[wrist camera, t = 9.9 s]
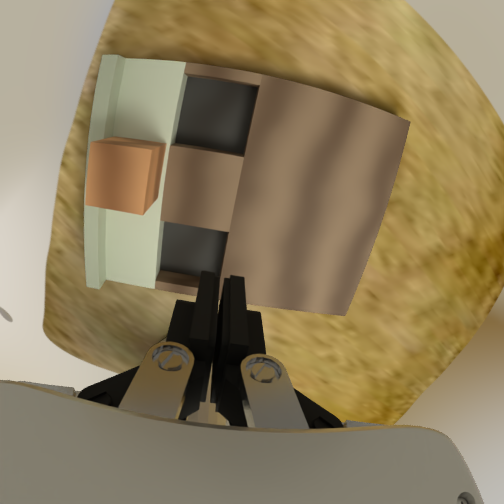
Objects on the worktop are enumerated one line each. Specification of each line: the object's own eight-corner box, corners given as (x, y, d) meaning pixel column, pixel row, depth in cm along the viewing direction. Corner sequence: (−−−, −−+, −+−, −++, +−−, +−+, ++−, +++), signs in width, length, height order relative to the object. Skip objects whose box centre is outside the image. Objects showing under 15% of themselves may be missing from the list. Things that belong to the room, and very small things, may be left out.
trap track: (398, 120, 27) (410, 121, 24) (339, 303, 36) (345, 316, 33) (190, 66, 24) (186, 62, 22) (159, 277, 33) (154, 288, 31)
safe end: (190, 66, 24) (182, 58, 20) (159, 277, 33) (150, 299, 29) (120, 62, 23) (102, 54, 19) (101, 266, 32) (86, 286, 28)
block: (166, 143, 25) (151, 149, 20) (157, 197, 27) (142, 215, 22) (114, 136, 24) (90, 142, 19) (108, 189, 26) (85, 205, 21)
